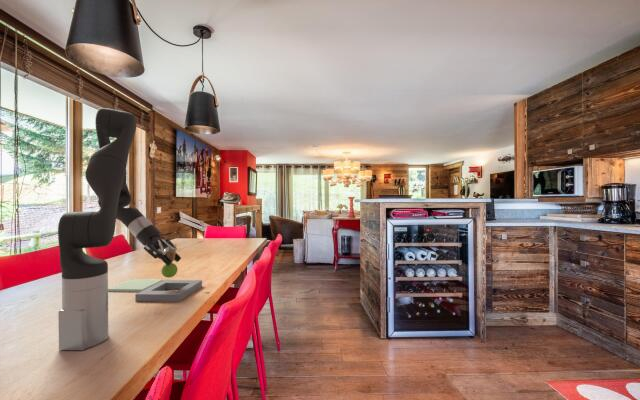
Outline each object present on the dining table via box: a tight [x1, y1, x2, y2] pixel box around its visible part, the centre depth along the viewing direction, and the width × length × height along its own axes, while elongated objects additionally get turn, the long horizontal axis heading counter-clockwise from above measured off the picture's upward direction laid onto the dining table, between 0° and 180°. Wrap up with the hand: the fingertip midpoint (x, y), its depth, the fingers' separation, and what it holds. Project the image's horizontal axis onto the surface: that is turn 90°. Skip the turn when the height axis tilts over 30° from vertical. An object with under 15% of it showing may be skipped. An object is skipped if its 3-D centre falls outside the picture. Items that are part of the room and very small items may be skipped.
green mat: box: [108, 278, 164, 293], centre depth 122 cm, size 14×14×1 cm
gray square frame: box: [134, 279, 203, 303], centre depth 114 cm, size 18×16×2 cm
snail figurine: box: [161, 244, 179, 278], centre depth 113 cm, size 5×6×12 cm
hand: (174, 261), depth 113 cm, fingers closed on snail figurine, 6 cm apart
